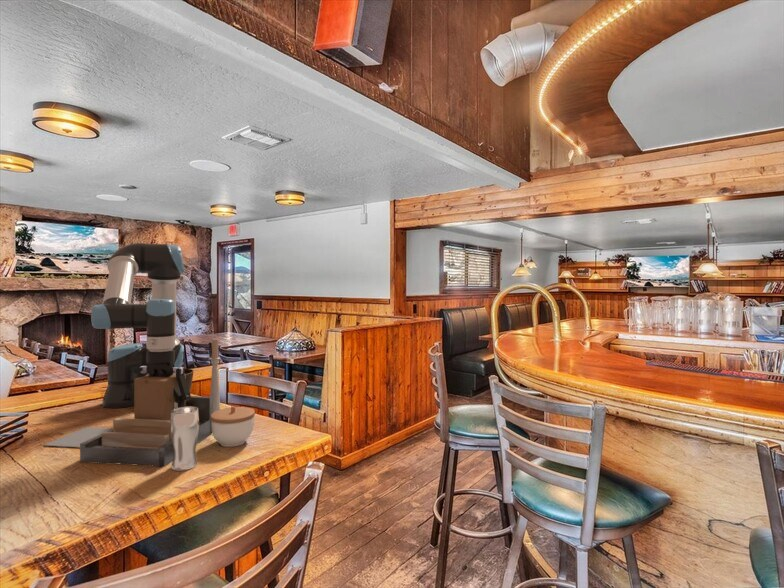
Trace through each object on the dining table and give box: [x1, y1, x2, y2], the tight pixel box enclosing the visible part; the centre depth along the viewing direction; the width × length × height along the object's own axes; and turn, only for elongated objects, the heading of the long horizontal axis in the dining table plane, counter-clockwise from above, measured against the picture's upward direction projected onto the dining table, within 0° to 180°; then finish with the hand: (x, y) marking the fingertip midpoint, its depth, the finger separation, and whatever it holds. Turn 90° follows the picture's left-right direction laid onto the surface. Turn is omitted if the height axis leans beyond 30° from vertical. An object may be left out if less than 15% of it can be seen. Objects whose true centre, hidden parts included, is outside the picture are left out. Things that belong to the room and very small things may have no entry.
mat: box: [42, 426, 113, 448], centre depth 127 cm, size 15×15×1 cm
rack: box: [79, 395, 213, 467], centre depth 120 cm, size 24×24×12 cm
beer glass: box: [170, 406, 199, 472], centre depth 108 cm, size 7×7×15 cm
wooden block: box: [133, 373, 186, 420], centre depth 125 cm, size 10×10×20 cm
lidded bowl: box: [211, 405, 256, 448], centre depth 125 cm, size 13×13×11 cm
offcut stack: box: [102, 417, 171, 449], centre depth 114 cm, size 8×19×9 cm, turn 85°
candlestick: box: [209, 338, 221, 413], centre depth 141 cm, size 13×13×30 cm
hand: (160, 421), depth 125 cm, fingers closed on wooden block, 10 cm apart
